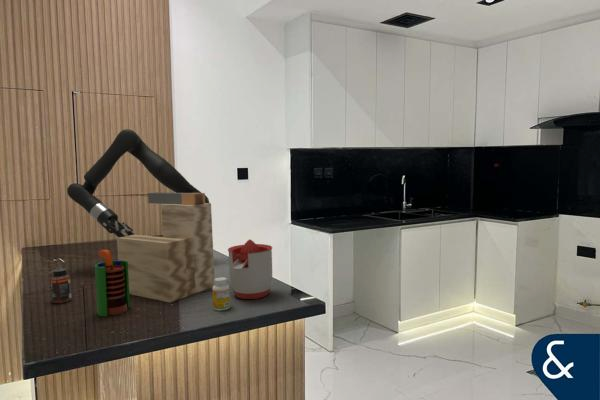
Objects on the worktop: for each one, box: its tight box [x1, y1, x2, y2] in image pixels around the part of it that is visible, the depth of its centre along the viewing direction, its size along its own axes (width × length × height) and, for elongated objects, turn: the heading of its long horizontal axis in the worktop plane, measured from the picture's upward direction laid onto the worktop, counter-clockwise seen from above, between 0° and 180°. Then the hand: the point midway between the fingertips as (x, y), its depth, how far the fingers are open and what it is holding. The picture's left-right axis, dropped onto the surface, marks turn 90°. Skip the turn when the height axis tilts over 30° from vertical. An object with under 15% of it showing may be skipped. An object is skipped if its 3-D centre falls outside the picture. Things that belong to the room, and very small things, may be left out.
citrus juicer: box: [227, 239, 273, 300], centre depth 156 cm, size 16×17×20 cm
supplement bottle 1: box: [50, 268, 72, 304], centre depth 157 cm, size 6×6×11 cm
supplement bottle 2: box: [211, 276, 231, 312], centre depth 144 cm, size 5×5×10 cm
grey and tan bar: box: [147, 191, 206, 205], centre depth 171 cm, size 6×26×4 cm, turn 58°
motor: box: [94, 249, 131, 318], centre depth 144 cm, size 10×9×20 cm
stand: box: [116, 202, 215, 303], centre depth 167 cm, size 22×27×32 cm
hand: (129, 238), depth 189 cm, fingers open, 8 cm apart
